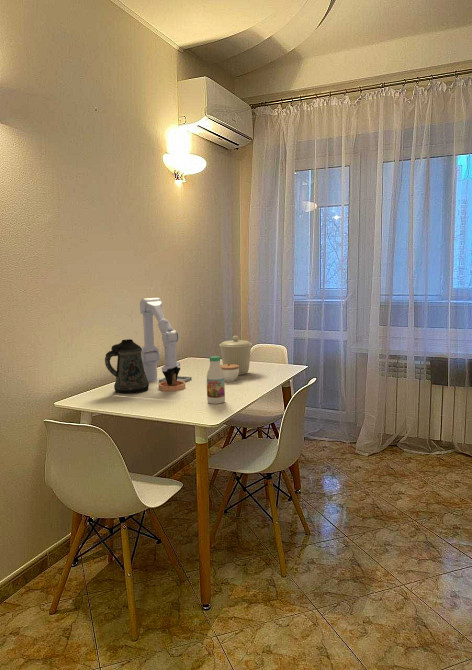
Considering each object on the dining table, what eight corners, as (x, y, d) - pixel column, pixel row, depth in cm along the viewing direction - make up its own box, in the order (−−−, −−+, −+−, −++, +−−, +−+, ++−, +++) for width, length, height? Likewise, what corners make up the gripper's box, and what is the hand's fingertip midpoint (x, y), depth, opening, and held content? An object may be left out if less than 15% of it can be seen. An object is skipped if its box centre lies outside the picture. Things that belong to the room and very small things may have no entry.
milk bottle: (207, 400, 229) (205, 355, 226) (224, 399, 230) (223, 354, 227) (207, 404, 221) (206, 358, 219) (225, 403, 222) (224, 357, 219)
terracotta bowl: (153, 391, 249) (153, 385, 248) (167, 385, 260) (167, 379, 260) (177, 392, 244) (177, 387, 243) (189, 387, 255) (189, 381, 255)
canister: (247, 377, 274) (246, 338, 271) (215, 376, 280) (214, 337, 277) (256, 371, 291) (256, 334, 288) (226, 369, 297) (225, 333, 294)
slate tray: (159, 383, 265) (158, 379, 264) (169, 379, 275) (169, 375, 274) (181, 385, 260) (181, 381, 259) (191, 380, 270) (191, 377, 269)
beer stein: (156, 389, 253) (153, 338, 249) (128, 398, 236) (126, 343, 233) (130, 386, 261) (128, 336, 258) (102, 394, 244) (99, 342, 241)
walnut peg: (166, 388, 251) (165, 374, 250) (170, 386, 255) (170, 372, 254) (173, 389, 249) (173, 374, 248) (177, 387, 253) (177, 373, 252)
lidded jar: (237, 382, 262) (236, 364, 261) (216, 382, 264) (216, 364, 263) (241, 378, 273) (240, 360, 271) (221, 378, 275) (220, 360, 274)
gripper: (170, 358, 242) (171, 387, 243) (185, 353, 255) (186, 380, 257) (157, 358, 244) (158, 386, 246) (172, 353, 258) (173, 379, 259)
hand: (171, 383), depth 252 cm, fingers closed on walnut peg, 4 cm apart
